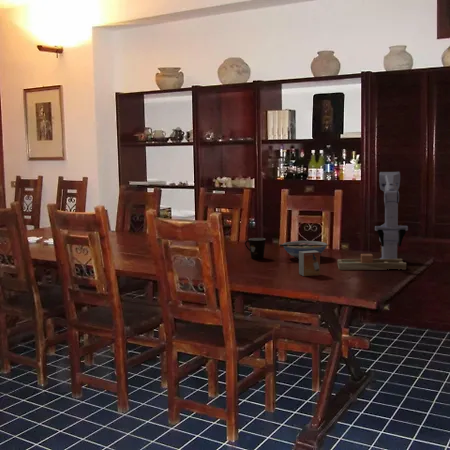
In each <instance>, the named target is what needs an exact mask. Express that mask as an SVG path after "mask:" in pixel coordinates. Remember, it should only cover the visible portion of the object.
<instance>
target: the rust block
mask: <svg viewBox="0 0 450 450" xmlns="http://www.w3.org/2000/svg"><path fill="white" fill-rule="evenodd" d="M360 259H361V263H373V259H374V255H373V254H372V253H360Z"/></svg>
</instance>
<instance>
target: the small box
mask: <svg viewBox="0 0 450 450" xmlns="http://www.w3.org/2000/svg"><path fill="white" fill-rule="evenodd" d="M298 274H299V275H301V276H302V277H308V276H311V277H312V276H321V254H320V252H318V251H316V250H313V251H299V259H298Z"/></svg>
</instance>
